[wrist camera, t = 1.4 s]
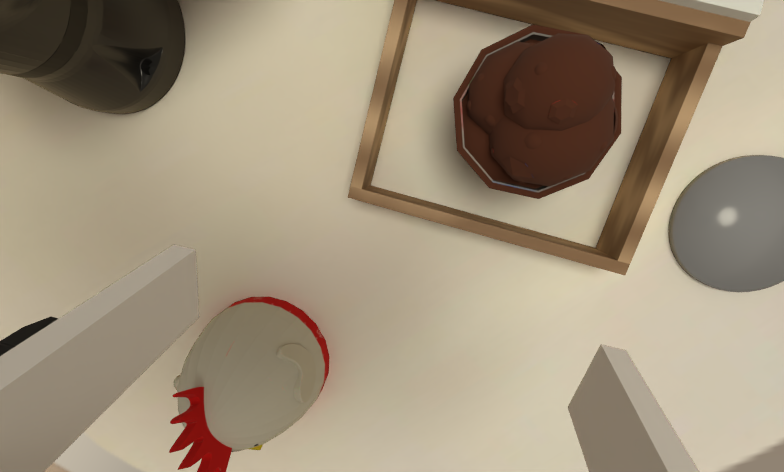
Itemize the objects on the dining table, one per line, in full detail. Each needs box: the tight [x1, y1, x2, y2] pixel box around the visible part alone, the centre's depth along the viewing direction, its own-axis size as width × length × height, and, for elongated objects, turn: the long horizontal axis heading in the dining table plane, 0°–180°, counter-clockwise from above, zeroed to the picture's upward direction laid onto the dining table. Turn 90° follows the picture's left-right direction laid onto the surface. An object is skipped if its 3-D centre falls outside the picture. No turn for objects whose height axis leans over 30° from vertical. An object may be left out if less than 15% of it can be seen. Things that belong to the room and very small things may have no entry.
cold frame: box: [348, 0, 750, 275], centre depth 31 cm, size 19×24×6 cm
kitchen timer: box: [169, 297, 329, 472], centre depth 35 cm, size 14×14×15 cm
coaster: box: [669, 155, 784, 292], centre depth 34 cm, size 12×12×1 cm
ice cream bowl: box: [453, 25, 622, 199], centre depth 27 cm, size 11×11×15 cm
